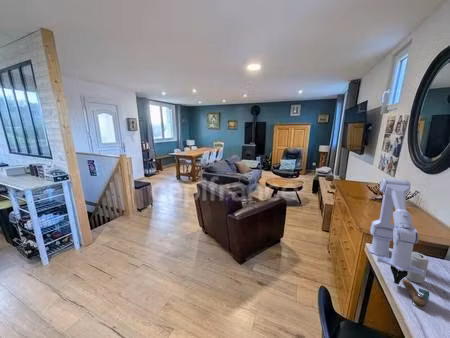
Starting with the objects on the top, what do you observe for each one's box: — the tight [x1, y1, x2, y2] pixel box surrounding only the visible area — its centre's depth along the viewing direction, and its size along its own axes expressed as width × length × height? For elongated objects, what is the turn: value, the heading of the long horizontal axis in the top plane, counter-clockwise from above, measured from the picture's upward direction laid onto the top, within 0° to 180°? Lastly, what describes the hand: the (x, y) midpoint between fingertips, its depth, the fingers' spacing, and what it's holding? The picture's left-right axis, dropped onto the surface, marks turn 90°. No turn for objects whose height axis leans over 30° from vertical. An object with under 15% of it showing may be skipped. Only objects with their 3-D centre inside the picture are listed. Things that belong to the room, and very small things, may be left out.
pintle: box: [411, 293, 426, 310], centre depth 71 cm, size 4×4×4 cm
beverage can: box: [405, 251, 429, 284], centre depth 83 cm, size 6×6×12 cm
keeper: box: [418, 287, 430, 304], centre depth 72 cm, size 1×3×4 cm, turn 48°
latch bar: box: [401, 278, 427, 308], centre depth 74 cm, size 12×3×3 cm, turn 158°
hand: (396, 282), depth 80 cm, fingers closed
